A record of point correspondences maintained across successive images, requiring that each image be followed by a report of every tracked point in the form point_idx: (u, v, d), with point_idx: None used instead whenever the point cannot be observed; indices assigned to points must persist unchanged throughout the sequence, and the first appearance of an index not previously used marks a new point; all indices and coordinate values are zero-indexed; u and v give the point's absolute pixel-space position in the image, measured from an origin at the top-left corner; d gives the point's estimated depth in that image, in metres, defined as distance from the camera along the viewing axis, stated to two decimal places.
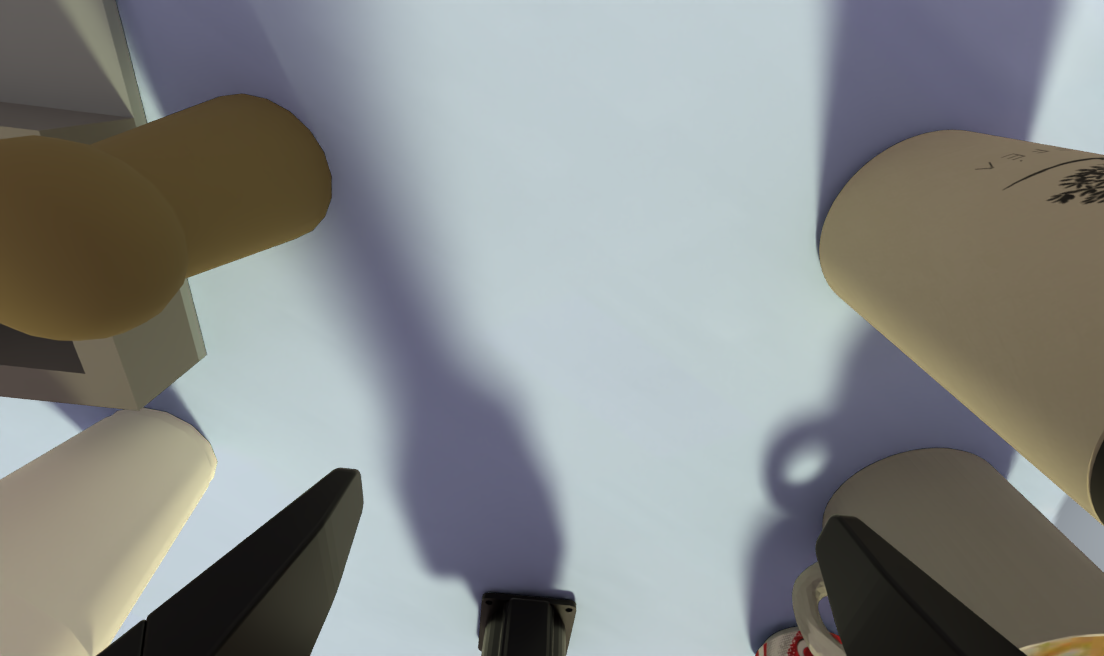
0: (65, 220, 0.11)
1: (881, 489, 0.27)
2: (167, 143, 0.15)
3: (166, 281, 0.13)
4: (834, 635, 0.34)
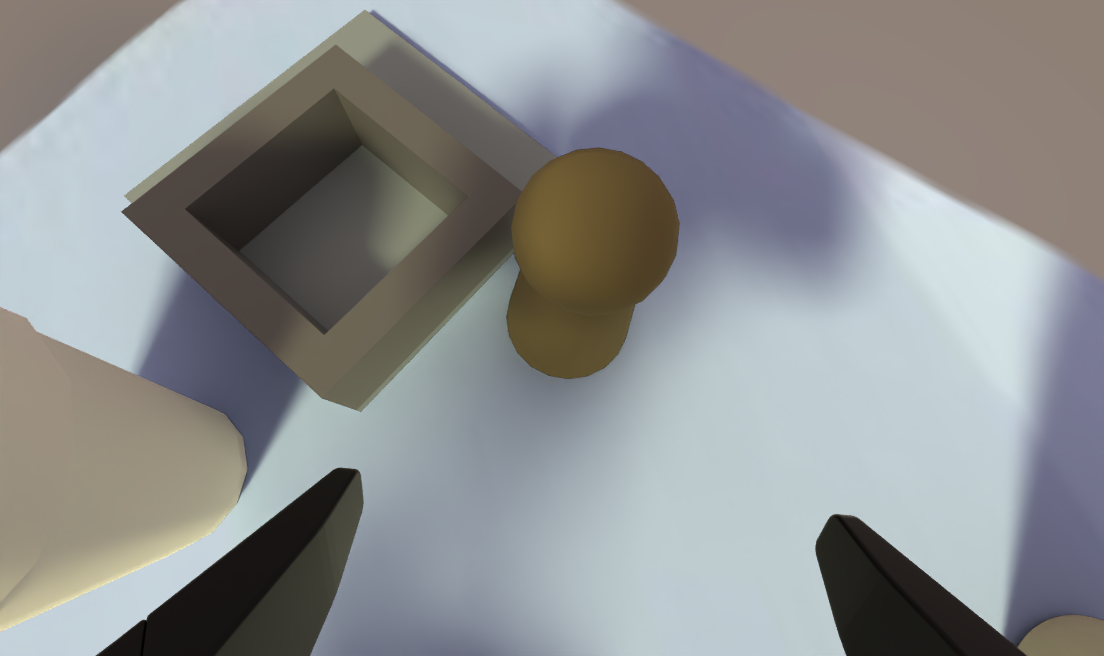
0: (669, 216, 0.14)
1: None
2: None
3: (644, 296, 0.15)
4: None
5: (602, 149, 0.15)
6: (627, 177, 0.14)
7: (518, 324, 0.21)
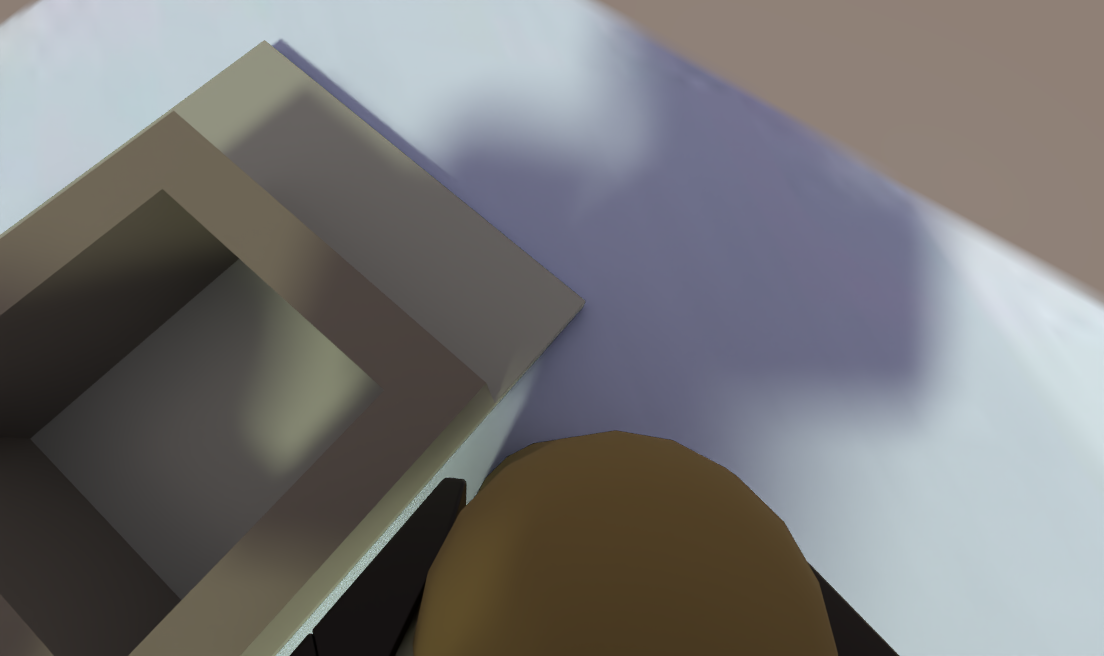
0: None
1: None
2: None
3: None
4: None
5: (642, 468, 0.06)
6: (716, 581, 0.05)
7: None
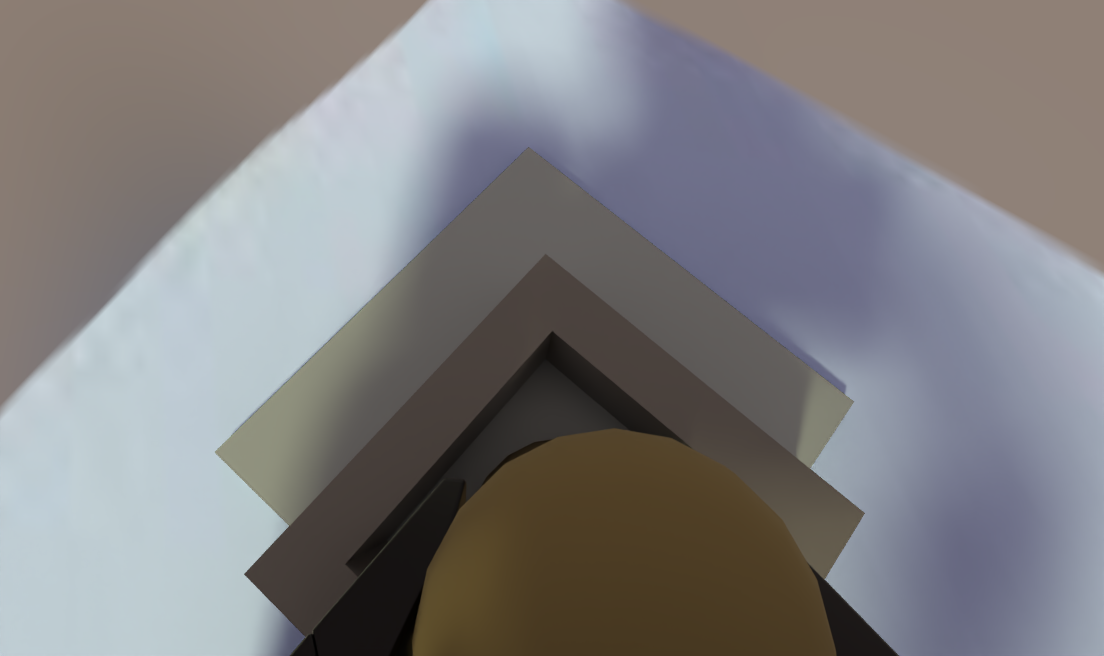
0: None
1: None
2: None
3: None
4: None
5: (640, 465, 0.06)
6: (714, 577, 0.05)
7: None
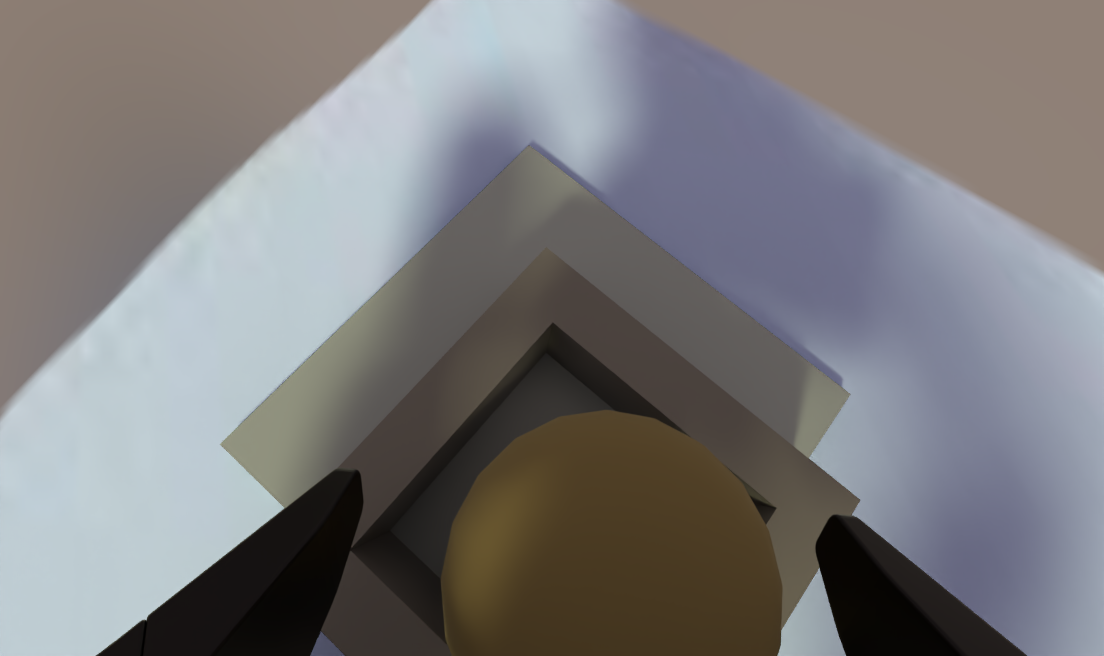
0: (771, 606, 0.07)
1: None
2: None
3: None
4: None
5: (626, 436, 0.07)
6: (682, 522, 0.07)
7: None
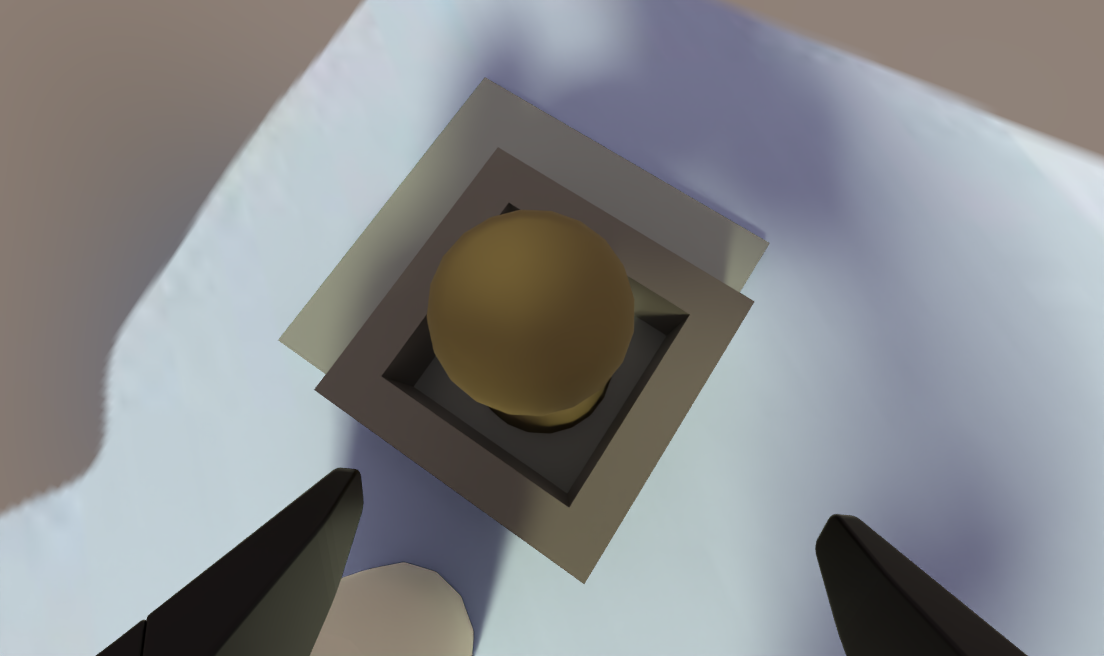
0: (616, 294, 0.11)
1: None
2: None
3: (599, 389, 0.12)
4: None
5: (524, 213, 0.12)
6: (556, 251, 0.11)
7: None
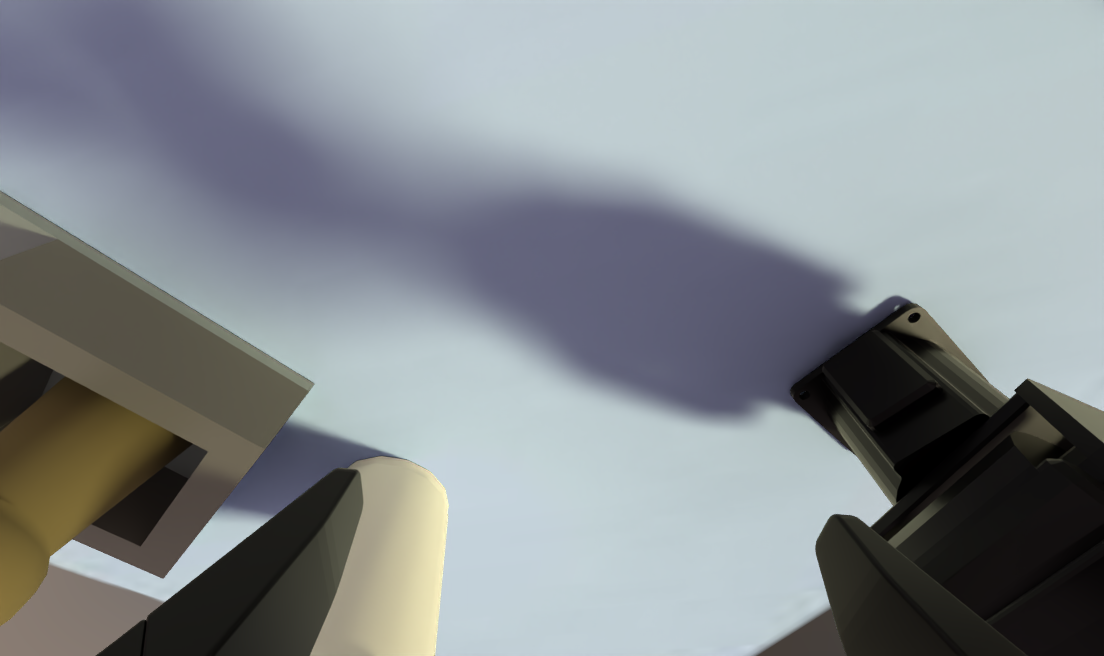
0: None
1: None
2: None
3: None
4: None
5: None
6: None
7: None
